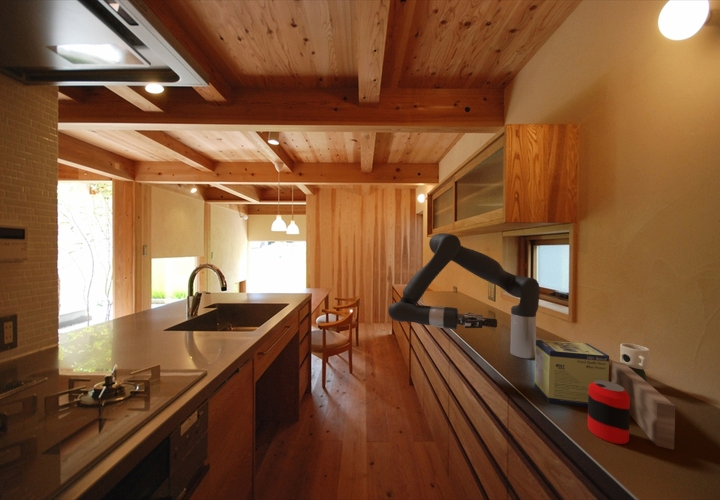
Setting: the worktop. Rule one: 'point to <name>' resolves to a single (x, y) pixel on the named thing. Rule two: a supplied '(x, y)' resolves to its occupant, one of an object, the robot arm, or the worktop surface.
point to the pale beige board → (647, 406)
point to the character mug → (635, 358)
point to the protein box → (568, 371)
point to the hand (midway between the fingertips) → (496, 323)
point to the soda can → (608, 411)
